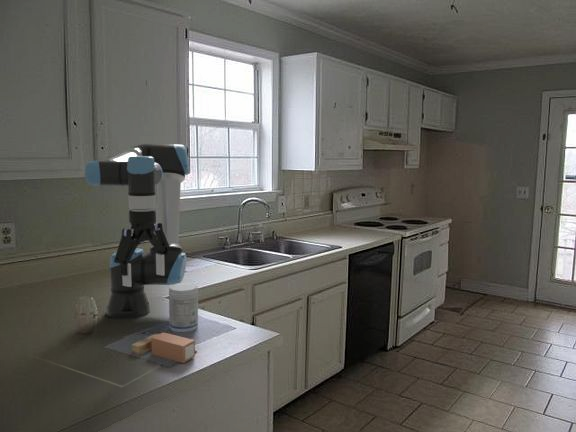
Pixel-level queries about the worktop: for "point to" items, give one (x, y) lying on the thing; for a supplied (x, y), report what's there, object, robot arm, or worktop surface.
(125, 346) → the mat
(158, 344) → the block
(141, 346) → the ledge
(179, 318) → the supplement tub
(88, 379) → the worktop surface
